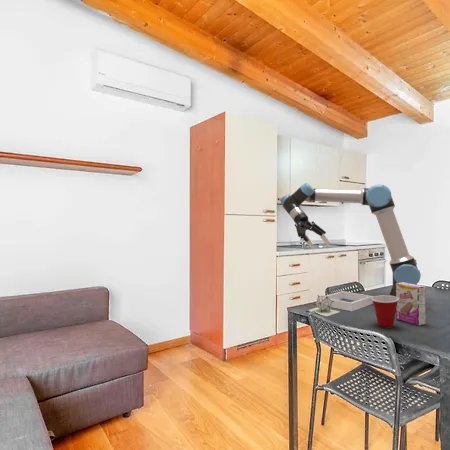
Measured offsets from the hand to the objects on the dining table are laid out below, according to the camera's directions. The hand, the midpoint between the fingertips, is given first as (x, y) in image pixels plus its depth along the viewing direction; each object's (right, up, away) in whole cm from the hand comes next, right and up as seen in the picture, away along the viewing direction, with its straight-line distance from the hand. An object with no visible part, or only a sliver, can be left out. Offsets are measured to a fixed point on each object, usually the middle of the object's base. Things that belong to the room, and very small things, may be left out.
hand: (320, 244), depth 182 cm
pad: (-3, -32, -14) cm, 35 cm away
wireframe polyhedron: (-2, -32, -13) cm, 35 cm away
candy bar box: (+30, -32, -31) cm, 54 cm away
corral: (+14, -31, +1) cm, 34 cm away
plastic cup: (+17, -32, -36) cm, 51 cm away
